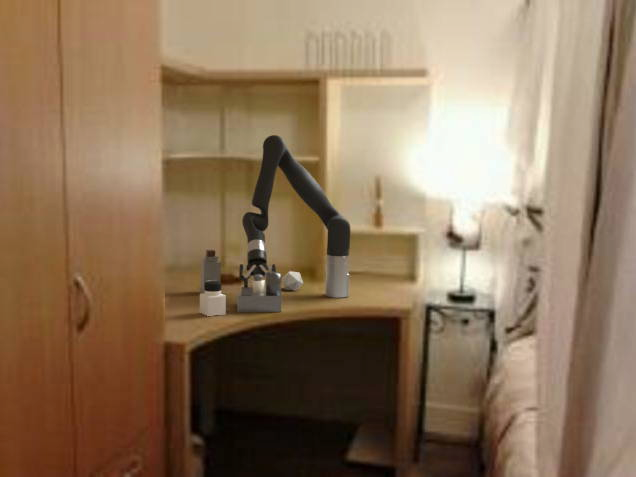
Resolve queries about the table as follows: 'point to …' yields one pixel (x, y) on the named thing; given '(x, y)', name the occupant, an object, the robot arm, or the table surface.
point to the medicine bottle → (212, 299)
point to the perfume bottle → (210, 268)
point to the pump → (258, 284)
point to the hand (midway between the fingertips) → (258, 288)
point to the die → (292, 281)
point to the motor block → (262, 296)
